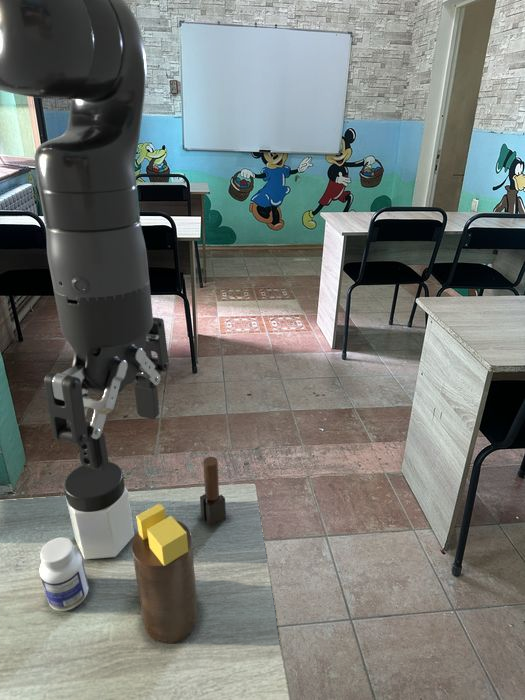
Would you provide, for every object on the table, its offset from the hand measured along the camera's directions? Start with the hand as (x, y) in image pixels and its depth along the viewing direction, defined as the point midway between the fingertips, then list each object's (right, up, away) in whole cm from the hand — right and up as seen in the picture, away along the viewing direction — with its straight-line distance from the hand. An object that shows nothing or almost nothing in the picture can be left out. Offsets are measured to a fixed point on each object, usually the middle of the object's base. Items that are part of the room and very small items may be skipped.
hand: (124, 439), depth 46 cm
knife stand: (+5, -19, +32) cm, 38 cm away
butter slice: (0, -13, +12) cm, 18 cm away
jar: (-11, -21, +29) cm, 37 cm away
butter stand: (+1, -27, +17) cm, 32 cm away
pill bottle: (-13, -25, +20) cm, 35 cm away
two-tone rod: (+5, -19, +32) cm, 38 cm away
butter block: (+2, -15, +10) cm, 18 cm away
